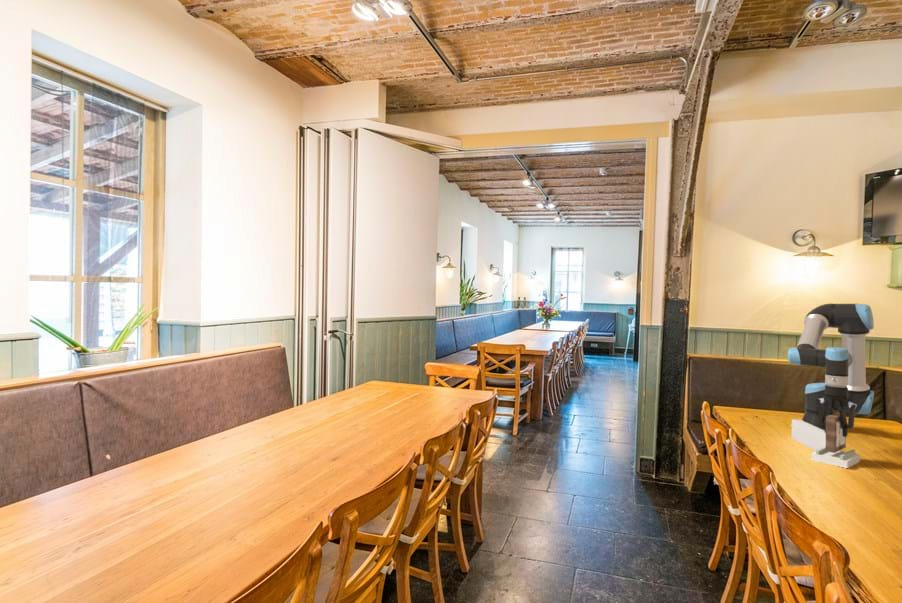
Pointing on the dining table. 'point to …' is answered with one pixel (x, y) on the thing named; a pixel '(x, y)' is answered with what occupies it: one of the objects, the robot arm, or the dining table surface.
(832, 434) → the brown picture frame
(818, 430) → the decorative sign
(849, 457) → the panel
